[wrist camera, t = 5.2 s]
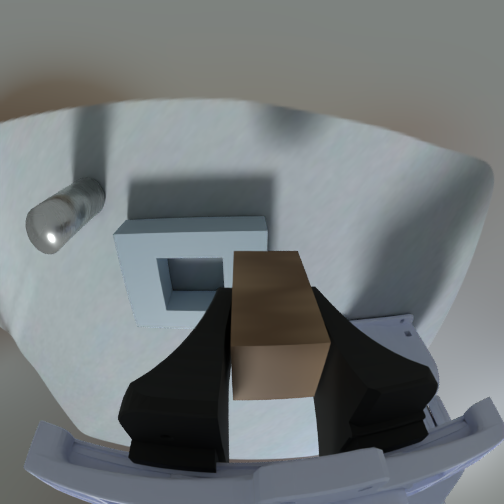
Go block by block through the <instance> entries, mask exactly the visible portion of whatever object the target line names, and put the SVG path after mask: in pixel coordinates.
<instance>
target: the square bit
mask: <svg viewBox="0 0 504 504" xmlns="http://www.w3.org/2000/svg"><path fill="white" fill-rule="evenodd" d="M330 344H331V341H330V338H329V336H328V333H327V330H326V327H325V324H324V321H323V318H322V316H321V313H320V310H319V307H318V304H317V302H316V299H315V296H314V293H313V291H312V288H311V285H310V283H309V280H308V277H307V274H306V272H305V269H304V266H303V264H302V261H301V259H300V256H299V253H298V251H234V256H233V283H232V314H231V366H232V387H233V400H271V399H289V398H302V397H313V396H314V395H315V392H316V389H317V386H318V383H319V380H320V377H321V374H322V370H323V367H324V364H325V361H326V357H327V354H328V351H329V347H330Z"/></svg>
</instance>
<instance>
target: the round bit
mask: <svg viewBox="0 0 504 504" xmlns="http://www.w3.org/2000/svg"><path fill="white" fill-rule="evenodd" d="M103 205H104V192H103V190H102V188H101V186H100V185H99V183H97V182H96V181H95V180H93V179H91V178H82V179H80V180H78V181H76V182H74V183H73V184H71V185H69V186H67V187H66V188H64V189H62V190H61V191H59V192H58V193H56V194H54V195H53V196H51V197H49V198H48V199H46V200H45V201H43V202H42V203H40V204H39V205H37V206H36V207H34V208H33V209H31V210H30V211H29V213H28V215H27V218H26V231H27V234H28V237H29V239H30V241H31V242H32V244H33V245H34V246H35V247H36V248H37V249H38V250H39V251H41V252H43V253H45V254H54V253H56V252H57V251H59V250H60V249H61V248H62V247H63V246H64V245H65V244H66V243H67V242H68V241H69V240H70V239H71V238H72V237H73V236H74V235H75V234H76V233H77V232H78V231H79V230H80V229H81V228H82V227H83V226H85V225H86V224H87V223H88V222H89V221H90V220H91V219H92V218H93V217H94V216H96V215H97V214H98V213H99V212H100V211H101V210H102V208H103Z"/></svg>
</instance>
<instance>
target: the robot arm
mask: <svg viewBox="0 0 504 504" xmlns="http://www.w3.org/2000/svg"><path fill="white" fill-rule="evenodd" d="M311 288H312V291H313V293H314V296H315V299H316V302H317V304H318V307H319V310H320V313H321V316H322V318H323V321H324V324H325V327H326V330H327V333H328V336H329V338H330V341H331V344H330V347H329V351H328V354H327V357H326V361H325V364H324V367H323V370H322V374H321V377H320V380H319V383H318V386H317V389H316V392H315V395H314V396H313V397H314V404H315V412H316V421H317V431H318V443H319V457H314V458H306V459H297V460H288V461H276V462H257V463H229V421H228V402H229V379H230V370H231V314H232V288H223V287H219V288H218V289H217V290H216V293H215V295H214V298H213V300H212V302H211V303H210V305H209V307H208V309H207V310H206V312H205V314H204V315H203V317H202V318H201V320H200V321H199V322H198V324H197V325H196V327H195V328H194V329H193V331H192V332H191V333H190V334H189V336H188V337H187V338H186V339H185V340H184V341H183V342H182V344H181V345H180V346H179V347H178V348H177V349H176V350H175V351H174V352H173V353H171V354H170V355H169V356H168V357H167V358H166V359H165V360H163V361H162V362H161V363H160V364H158V365H157V366H156V367H155V368H153V369H152V370H151V371H149V372H148V373H146V374H145V375H143V376H141V377H140V378H138V379H136V380H135V381H133V382H131V383H130V385H129V387H128V389H127V391H126V393H125V395H124V397H123V400H122V404H121V407H120V411H119V415H118V420H119V422H120V424H121V425H122V427H123V428H124V430H125V431H126V432H127V434H128V435H129V436H130V437H131V439H132V441H131V446H130V451H129V452H126V451H121V450H116V449H112V448H108V447H103V446H100V445H96V444H92V443H88V442H84V441H81V440H78V439H75V438H74V437H73V436H72V434H71V433H70V432H68V431H67V430H66V429H64V428H62V427H59V426H57V425H54V424H51V423H48V422H45V421H42V420H41V421H40V422H39V424H38V427H37V429H36V432H35V435H34V438H33V440H32V443H31V446H30V449H29V452H28V455H27V458H26V461H25V464H24V469H25V470H26V471H28V472H29V473H31V474H32V475H34V476H35V477H37V478H38V479H40V480H42V481H43V482H45V483H47V484H48V485H50V486H51V487H53V488H55V489H57V490H59V491H62V492H64V493H66V494H69V495H71V496H74V497H76V498H79V499H81V500H84V501H87V502H90V503H92V504H445V501H444V500H445V499H446V497H447V496H448V495H449V493H450V492H451V490H452V489H453V487H454V486H455V484H456V483H457V482H458V480H459V479H460V477H461V475H462V473H463V472H464V469H465V468H467V467H469V466H470V465H472V464H474V463H475V462H477V461H479V460H480V459H481V458H482V457H484V456H485V455H486V454H488V453H489V452H490V451H492V450H493V449H494V448H495V447H496V446H498V445H499V444H500V443H501V442H502V441H503V440H504V422H503V421H502V419H501V417H500V415H499V413H498V411H497V409H496V407H495V405H494V404H493V402H492V400H491V398H490V397H488V398H486V399H483V400H482V401H479V402H478V403H475V404H474V405H473V406H471V407H470V408H469V409H468V410H467V411H466V412H465V413H464V415H463V416H461V417H458V418H456V419H454V420H451V419H450V417H449V415H448V413H447V411H446V409H445V407H444V405H443V403H442V401H441V399H440V397H439V396H437V392H438V388H439V373H438V369H437V366H436V363H435V361H434V359H433V357H432V356H431V354H430V352H429V351H428V349H427V347H426V346H425V344H424V342H423V341H422V339H421V338H420V336H419V334H418V333H417V331H416V330H415V328H414V326H413V325H412V322H413V320H414V316H413V315H412V314H406V315H399V316H391V317H382V318H373V319H363V320H352V321H349V320H347V319H346V318H345V317H344V316H343V315H342V314H341V313H340V312H339V311H338V310H337V309H336V308H335V307H334V306H333V305H332V304H331V303H330V302H329V301H328V300H327V299H326V298H325V297H324V296H323V294H322V293H321V292H320V291H319V290H318V289H317V288H316V287H311ZM428 405H429V408H428ZM429 409H430V410H429ZM430 411H431V412H430ZM431 413H432V414H431Z"/></svg>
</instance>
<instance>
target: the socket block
mask: <svg viewBox="0 0 504 504" xmlns="http://www.w3.org/2000/svg"><path fill="white" fill-rule="evenodd" d="M113 236H114V241H115V246H116V250H117V255H118V259H119V263H120V267H121V271H122V275H123V279H124V283H125V287H126V290H127V294H128V297H129V301H130V304H131V308H132V311H133V314H134V318H135V321H136V324H137V327H152V328H177V329H194V328H195V327H196V325H197V324H198V322H199V321H200V320H201V318H202V317H203V315H204V314H205V312H206V310H207V309H208V307H209V305H210V303H211V302H212V300H213V298H214V295H215V293H216V291H173V290H172V284H171V279H170V273H169V266H168V260H167V258H223V273H224V288H232V283H233V256H234V251H267V238H268V230H267V225H266V221H265V216H237V217H190V218H161V219H138V220H126V221H125V222H124V223H123V224H122V225H121V226H120V227H119V228H118V230H117V231H116V232H115V233H114V234H113Z"/></svg>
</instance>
